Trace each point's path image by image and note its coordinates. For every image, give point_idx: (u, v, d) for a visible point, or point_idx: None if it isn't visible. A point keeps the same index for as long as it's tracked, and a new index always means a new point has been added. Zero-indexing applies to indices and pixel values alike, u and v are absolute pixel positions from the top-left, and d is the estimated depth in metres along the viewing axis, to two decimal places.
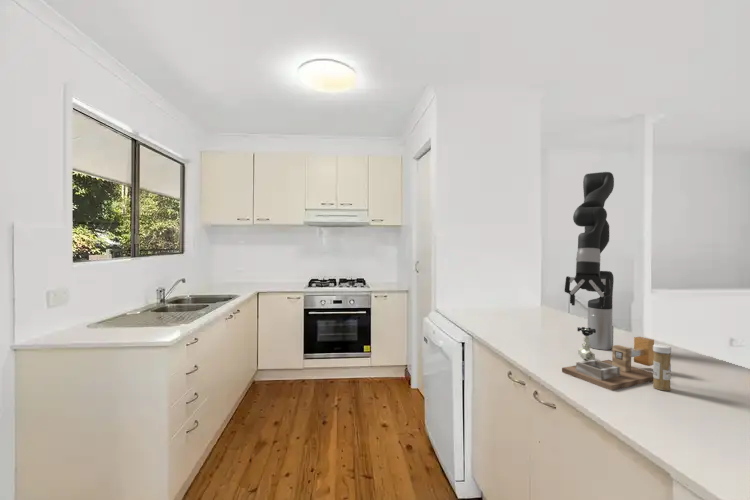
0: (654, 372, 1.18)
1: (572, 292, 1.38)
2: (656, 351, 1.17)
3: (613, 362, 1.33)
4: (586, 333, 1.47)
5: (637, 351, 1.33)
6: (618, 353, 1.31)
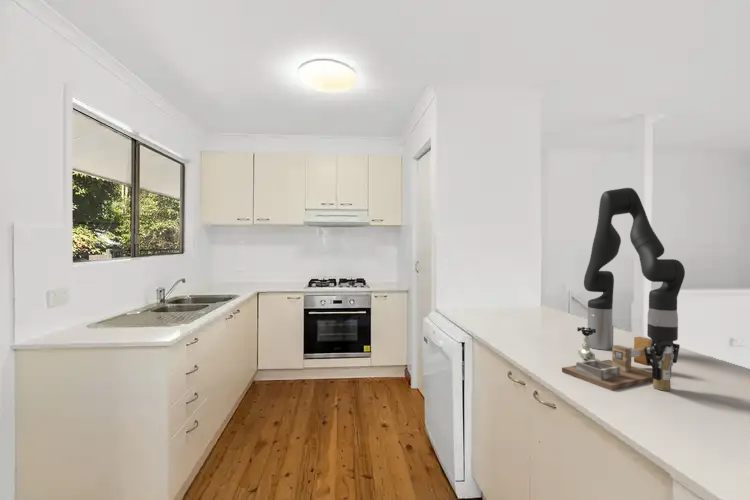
0: None
1: (660, 365, 1.16)
2: None
3: (613, 362, 1.33)
4: (586, 333, 1.47)
5: (637, 351, 1.33)
6: (618, 353, 1.31)
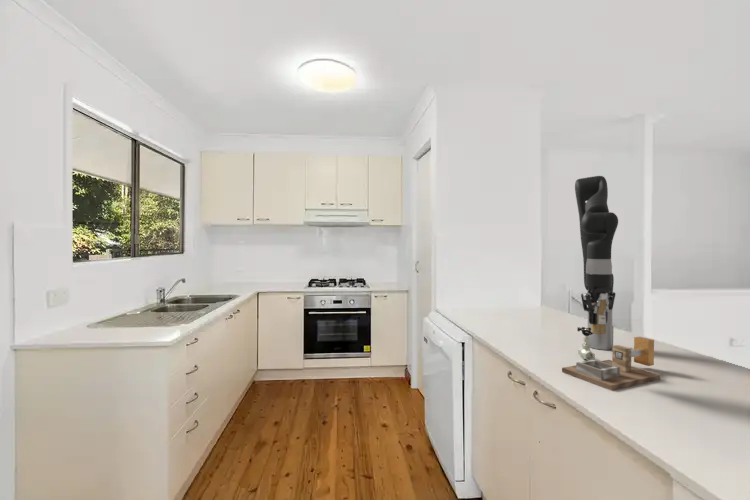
0: None
1: (596, 310, 1.25)
2: None
3: (613, 362, 1.33)
4: (586, 333, 1.47)
5: (637, 351, 1.33)
6: (618, 353, 1.31)
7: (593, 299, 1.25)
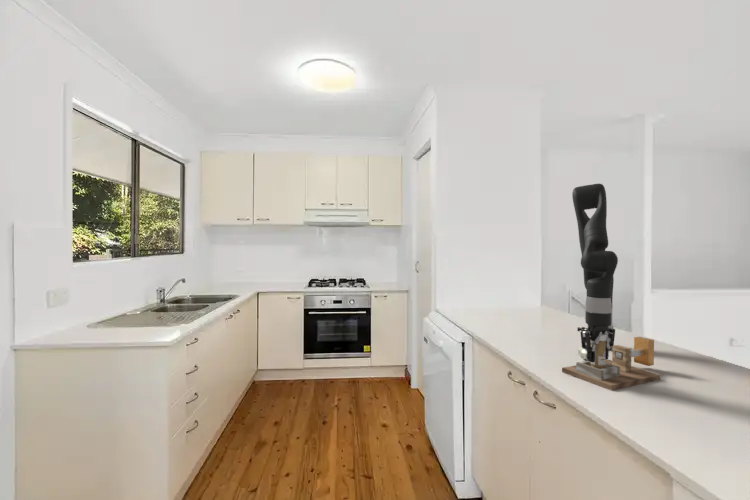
0: None
1: (594, 348, 1.25)
2: None
3: (613, 362, 1.33)
4: None
5: (637, 351, 1.33)
6: (618, 353, 1.31)
7: (592, 337, 1.25)
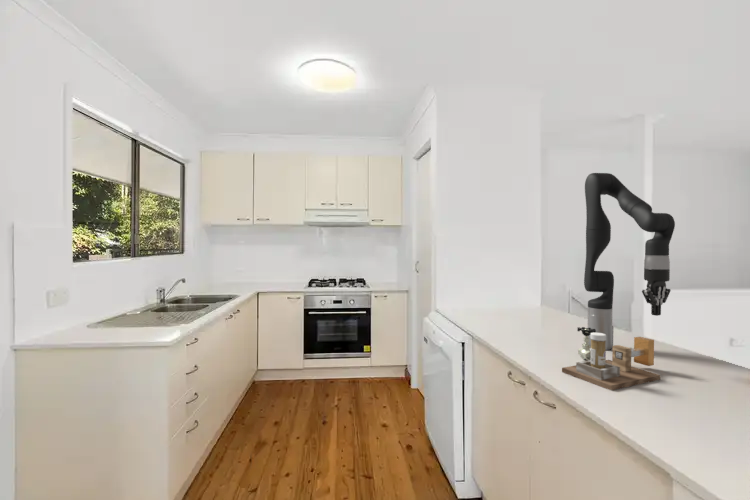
0: (591, 358, 1.27)
1: (658, 303, 1.37)
2: (592, 339, 1.26)
3: (613, 362, 1.33)
4: (586, 333, 1.47)
5: (637, 351, 1.33)
6: (618, 353, 1.31)
7: (653, 293, 1.37)
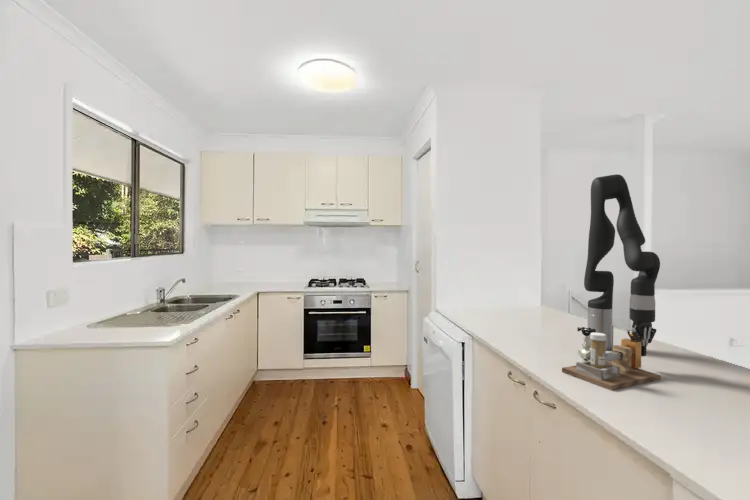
0: (591, 358, 1.27)
1: (644, 343, 1.34)
2: (592, 339, 1.26)
3: (613, 362, 1.33)
4: (586, 333, 1.47)
5: None
6: None
7: None
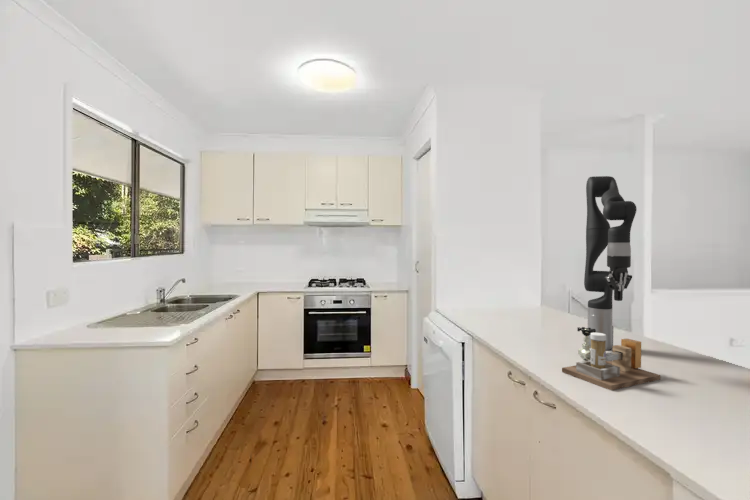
0: (591, 358, 1.27)
1: (620, 288, 1.41)
2: (592, 339, 1.26)
3: (613, 362, 1.33)
4: (586, 333, 1.47)
5: None
6: None
7: None
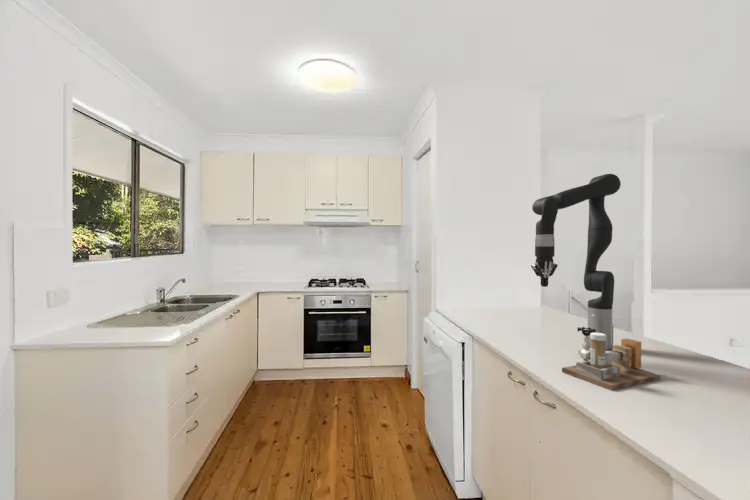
0: (591, 358, 1.27)
1: (545, 275, 1.59)
2: (592, 339, 1.27)
3: (613, 362, 1.33)
4: (586, 333, 1.47)
5: None
6: None
7: None
